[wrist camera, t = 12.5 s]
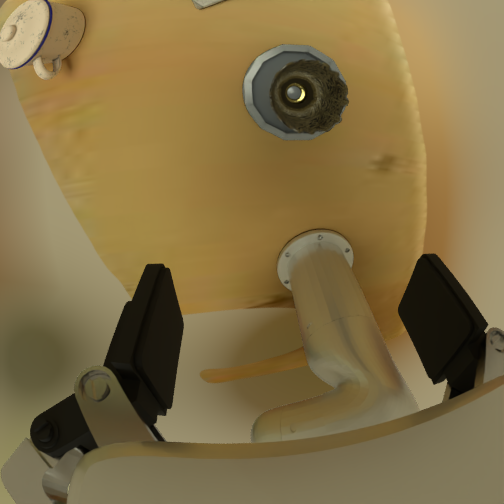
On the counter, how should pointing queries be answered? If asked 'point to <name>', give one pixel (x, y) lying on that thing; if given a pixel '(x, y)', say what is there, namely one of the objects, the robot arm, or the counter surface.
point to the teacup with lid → (40, 36)
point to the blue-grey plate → (260, 82)
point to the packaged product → (205, 3)
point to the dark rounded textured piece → (308, 96)
